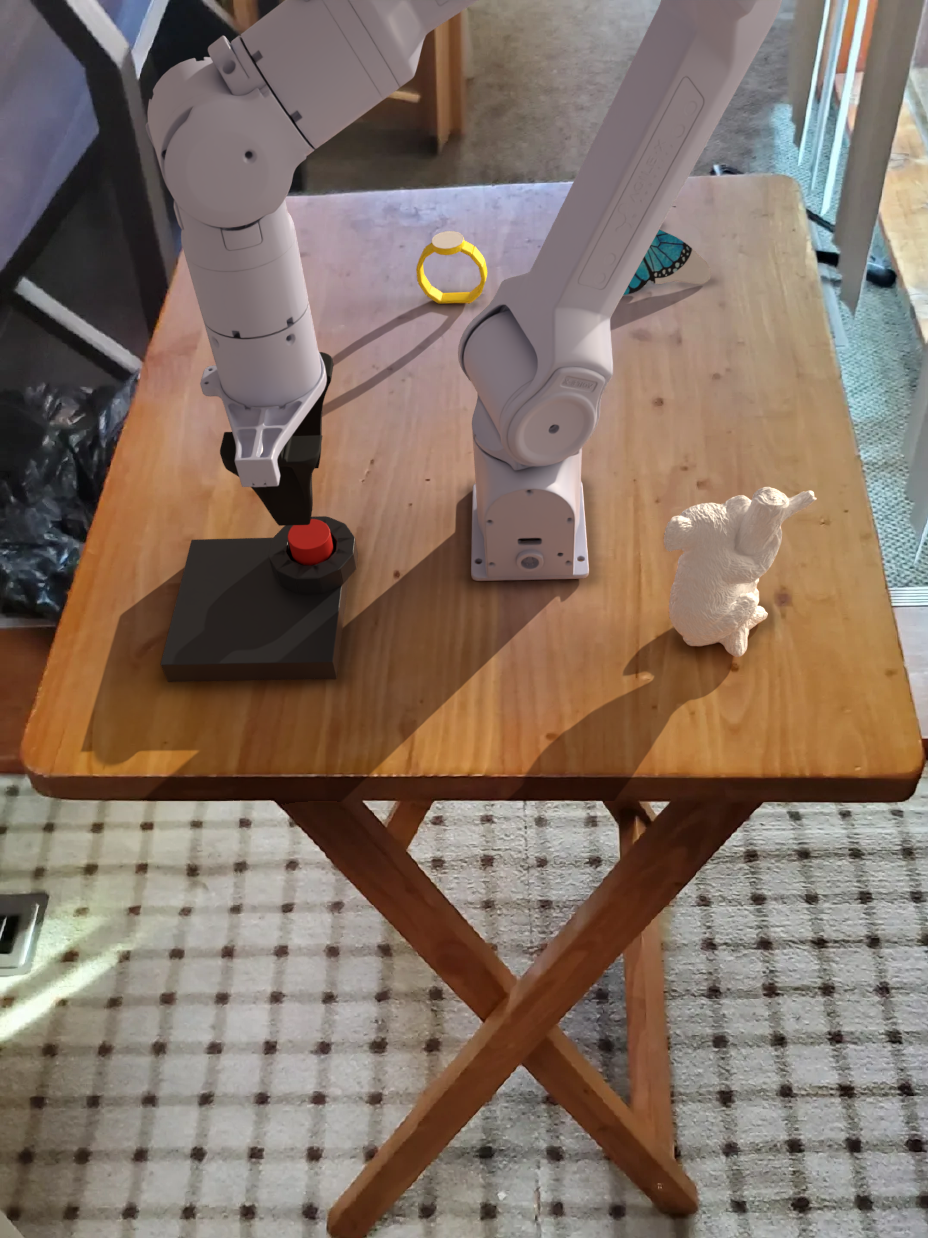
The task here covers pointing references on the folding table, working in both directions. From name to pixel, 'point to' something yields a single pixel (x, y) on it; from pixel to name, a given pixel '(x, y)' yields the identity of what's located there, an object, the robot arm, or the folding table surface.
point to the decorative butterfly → (669, 264)
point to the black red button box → (259, 610)
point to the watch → (447, 246)
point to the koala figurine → (726, 564)
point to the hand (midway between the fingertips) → (299, 492)
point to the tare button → (310, 542)
